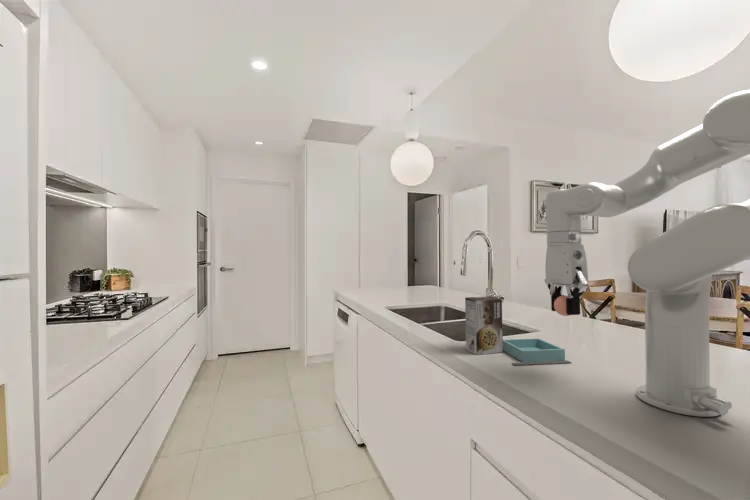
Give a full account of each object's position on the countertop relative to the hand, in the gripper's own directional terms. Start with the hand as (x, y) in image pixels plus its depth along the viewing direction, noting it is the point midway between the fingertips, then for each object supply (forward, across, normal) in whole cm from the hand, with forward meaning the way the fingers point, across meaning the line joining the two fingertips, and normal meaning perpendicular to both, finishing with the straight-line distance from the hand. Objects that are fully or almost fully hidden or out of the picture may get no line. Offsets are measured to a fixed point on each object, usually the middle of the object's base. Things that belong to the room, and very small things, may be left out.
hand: (565, 311), depth 85 cm
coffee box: (+15, +20, +12) cm, 28 cm away
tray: (+15, +15, 0) cm, 21 cm away
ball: (-1, 0, 0) cm, 1 cm away
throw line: (+15, +7, +2) cm, 16 cm away
